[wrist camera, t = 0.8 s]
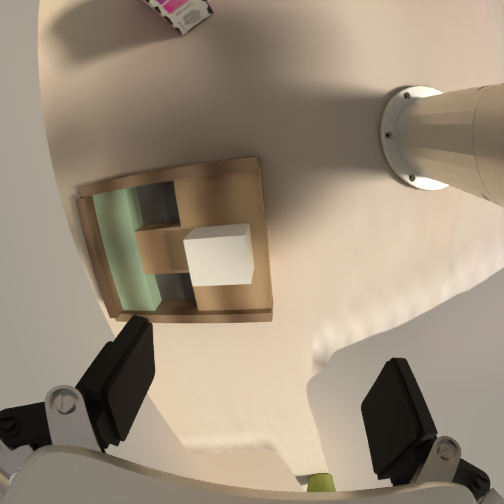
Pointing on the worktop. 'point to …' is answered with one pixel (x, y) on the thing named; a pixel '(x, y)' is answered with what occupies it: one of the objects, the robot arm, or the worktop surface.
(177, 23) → the candy bar box
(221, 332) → the worktop surface
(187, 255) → the cream block
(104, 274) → the box
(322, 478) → the plant pot
